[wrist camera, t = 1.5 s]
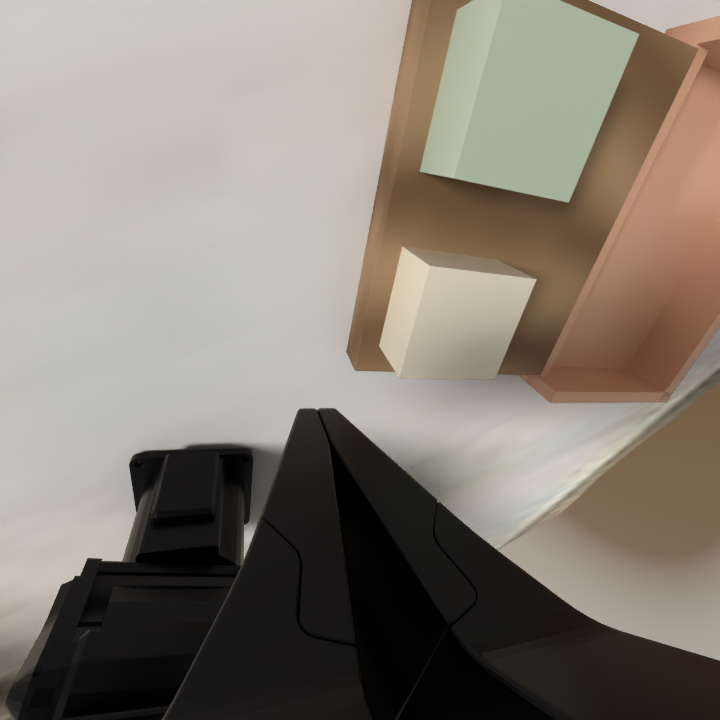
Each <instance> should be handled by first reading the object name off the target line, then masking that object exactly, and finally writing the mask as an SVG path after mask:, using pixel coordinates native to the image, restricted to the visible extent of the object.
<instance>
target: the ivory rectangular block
mask: <svg viewBox="0 0 720 720" xmlns="http://www.w3.org/2000/svg"><path fill="white" fill-rule="evenodd" d="M536 280H537V279H535V278H533V277H531V276H529V275H527V274H525V273H523V272H521V271H519V270H517V269H515V268H513V267H511V266H509V265H507V264H505V263H503V262H501V261H499V260H497V259H489V258H482V257H475V256H468V255H461V254H453V253H446V252H439V251H432V250H425V249H417V248H410V247H403V246H402V250H401V254H400V258H399V262H398V267H397V271H396V275H395V280H394V284H393V288H392V293H391V297H390V301H389V306H388V310H387V314H386V318H385V323H384V327H383V331H382V336H381V340H380V344H379V347H380V348H381V350H382V351H383V353H384V355H385V356H386V358H387V359H388V361H389V363H390V364H391V366H392V367H393V369H394V371H395V372H396V374H397V375H398V377H399V378H424V379H479V380H495V378H496V375H497V373H498V371H499V368H500V366H501V363H502V361H503V359H504V356H505V354H506V351H507V349H508V347H509V344H510V342H511V340H512V337H513V335H514V332H515V330H516V328H517V325H518V323H519V320H520V318H521V316H522V313H523V311H524V308H525V306H526V304H527V301H528V299H529V297H530V294H531V292H532V289H533V287H534V285H535V282H536Z"/></svg>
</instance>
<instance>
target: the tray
mask: <svg viewBox="0 0 720 720" xmlns="http://www.w3.org/2000/svg"><path fill="white" fill-rule="evenodd" d="M665 34H666V35H668V36H671V37H673V38H675V39H678V40H680V41H682V42H684V43H687V44H689V45H691V46H694V47H696V48H698V51H697V53H696V55H695V58H694V60H693V62H692V64H691V66H690V68H689V70H688V72H687V74H686V76H685V78H684V80H683V82H682V84H681V86H680V88H679V91H678V93H677V95H676V97H675V99H674V101H673V103H672V105H671V107H670V109H669V111H668V113H667V115H666V117H665V119H664V121H663V124H662V126H661V128H660V130H659V132H658V134H657V136H656V138H655V140H654V142H653V144H652V146H651V148H650V150H649V152H648V154H647V157H646V159H645V161H644V163H643V165H642V167H641V169H640V171H639V173H638V175H637V177H636V179H635V181H634V183H633V185H632V188H631V190H630V192H629V194H628V196H627V198H626V200H625V202H624V204H623V206H622V208H621V210H620V212H619V214H618V216H617V218H616V221H615V223H614V225H613V227H612V229H611V231H610V233H609V235H608V237H607V239H606V241H605V243H604V245H603V247H602V249H601V251H600V254H599V256H598V258H597V260H596V262H595V264H594V266H593V268H592V270H591V272H590V274H589V276H588V278H587V280H586V282H585V284H584V287H583V289H582V291H581V293H580V295H579V297H578V299H577V301H576V303H575V305H574V307H573V309H572V311H571V313H570V315H569V317H568V320H567V322H566V324H565V326H564V328H563V330H562V332H561V334H560V336H559V338H558V340H557V342H556V344H555V346H554V348H553V350H552V353H551V355H550V357H549V359H548V361H547V363H546V365H545V367H544V369H543V371H542V373H541V375H519V376H520V377H521V378H522V379H524V380H525V381H526V382H527V383H528V384H529V385H530V386H532V387H533V388H534V389H535V390H536V391H537V392H538V393H540V394H541V395H542V396H543V397H544V398H545V399H546V400H548V401H549V402H550V403H609V402H667V401H668V399H669V398H670V396H671V395H672V394H673V392H674V391H675V389H676V388H677V386H678V385H679V384H680V382H681V381H682V379H683V378H684V376H685V375H686V374H687V372H688V371H689V369H690V368H691V367H692V365H693V364H694V362H695V361H696V359H697V358H698V357H699V355H700V354H701V352H702V351H703V349H704V348H705V347H706V345H707V344H708V342H709V341H710V339H711V338H712V337H713V335H714V334H715V332H716V331H717V330H718V328H719V327H720V16H718V17H714V18H710V19H706V20H702V21H698V22H694V23H690V24H686V25H683V26H679V27H675V28H671V29H667V31H666V33H665Z"/></svg>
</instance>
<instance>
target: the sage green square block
mask: <svg viewBox="0 0 720 720" xmlns="http://www.w3.org/2000/svg"><path fill="white" fill-rule="evenodd" d="M638 36H639V34H638V33H636V32H633V31H631V30H629V29H626V28H624V27H621V26H619V25H617V24H614V23H612V22H610V21H607V20H605V19H603V18H600V17H598V16H596V15H593V14H591V13H589V12H586V11H584V10H582V9H579V8H577V7H574V6H572V5H570V4H567V3H565V2H563V1H560V0H473V1H471V2H469V3H468V4H466V5H464V6H463V7H461V8H459V9H458V10H457V13H456V17H455V21H454V26H453V30H452V34H451V38H450V43H449V47H448V51H447V56H446V60H445V64H444V69H443V73H442V77H441V82H440V86H439V90H438V94H437V99H436V103H435V107H434V112H433V116H432V120H431V125H430V129H429V133H428V138H427V142H426V146H425V150H424V155H423V159H422V163H421V168H420V172H424V173H428V174H433V175H438V176H443V177H447V178H452V179H457V180H462V181H466V182H471V183H476V184H481V185H485V186H490V187H495V188H500V189H504V190H509V191H514V192H519V193H524V194H529V195H533V196H538V197H543V198H548V199H553V200H558V201H563V202H568V203H569V201H570V199H571V196H572V194H573V191H574V189H575V187H576V184H577V182H578V180H579V177H580V175H581V172H582V170H583V168H584V165H585V163H586V160H587V158H588V156H589V153H590V151H591V148H592V146H593V144H594V141H595V139H596V137H597V134H598V132H599V129H600V127H601V125H602V122H603V120H604V117H605V115H606V113H607V110H608V108H609V105H610V103H611V101H612V98H613V96H614V94H615V91H616V89H617V86H618V84H619V82H620V79H621V77H622V74H623V72H624V70H625V67H626V65H627V63H628V60H629V58H630V55H631V53H632V51H633V48H634V46H635V43H636V41H637V39H638Z"/></svg>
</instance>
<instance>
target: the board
mask: <svg viewBox="0 0 720 720" xmlns="http://www.w3.org/2000/svg"><path fill="white" fill-rule="evenodd" d="M471 1H473V0H412V4H411V10H410V15H409V20H408V26H407V31H406V37H405V42H404V47H403V53H402V58H401V63H400V69H399V74H398V79H397V85H396V90H395V95H394V101H393V106H392V111H391V117H390V122H389V127H388V133H387V138H386V144H385V149H384V154H383V160H382V165H381V170H380V176H379V181H378V186H377V192H376V197H375V202H374V208H373V213H372V218H371V224H370V229H369V234H368V240H367V245H366V251H365V256H364V261H363V267H362V272H361V277H360V283H359V288H358V293H357V299H356V304H355V309H354V315H353V320H352V325H351V331H350V336H349V341H348V347H347V354H348V356H349V359H350V361H351V363H352V365H353V367H354V370H355V371H385V372H395V371H394V369H393V367H392V366H391V364H390V363H389V361H388V359H387V358H386V356H385V355H384V353H383V351H382V350H381V348H380V347H379V344H380V340H381V336H382V331H383V327H384V323H385V318H386V314H387V310H388V306H389V301H390V297H391V293H392V288H393V284H394V280H395V275H396V271H397V267H398V262H399V258H400V254H401V250H402V246H403V247H410V248H417V249H425V250H432V251H439V252H446V253H453V254H461V255H468V256H475V257H482V258H489V259H497V260H499V261H501V262H503V263H505V264H507V265H509V266H511V267H513V268H515V269H517V270H519V271H521V272H523V273H525V274H527V275H529V276H531V277H533V278H535V279H537V280H536V282H535V285H534V287H533V289H532V292H531V294H530V297H529V299H528V301H527V304H526V306H525V308H524V311H523V313H522V316H521V318H520V320H519V323H518V325H517V328H516V330H515V332H514V335H513V337H512V340H511V342H510V344H509V347H508V349H507V351H506V354H505V356H504V359H503V361H502V363H501V366H500V368H499V371H498V373H497V374H511V375H541V373H542V371H543V369H544V367H545V365H546V363H547V361H548V359H549V357H550V355H551V353H552V350H553V348H554V346H555V344H556V342H557V340H558V338H559V336H560V334H561V332H562V330H563V328H564V326H565V324H566V322H567V320H568V317H569V315H570V313H571V311H572V309H573V307H574V305H575V303H576V301H577V299H578V297H579V295H580V293H581V291H582V289H583V287H584V284H585V282H586V280H587V278H588V276H589V274H590V272H591V270H592V268H593V266H594V264H595V262H596V260H597V258H598V256H599V254H600V251H601V249H602V247H603V245H604V243H605V241H606V239H607V237H608V235H609V233H610V231H611V229H612V227H613V225H614V223H615V221H616V218H617V216H618V214H619V212H620V210H621V208H622V206H623V204H624V202H625V200H626V198H627V196H628V194H629V192H630V190H631V188H632V185H633V183H634V181H635V179H636V177H637V175H638V173H639V171H640V169H641V167H642V165H643V163H644V161H645V159H646V157H647V154H648V152H649V150H650V148H651V146H652V144H653V142H654V140H655V138H656V136H657V134H658V132H659V130H660V128H661V126H662V124H663V121H664V119H665V117H666V115H667V113H668V111H669V109H670V107H671V105H672V103H673V101H674V99H675V97H676V95H677V93H678V91H679V88H680V86H681V84H682V82H683V80H684V78H685V76H686V74H687V72H688V70H689V68H690V66H691V64H692V62H693V60H694V58H695V55H696V53H697V51H698V48H696V47H694V46H691V45H689V44H687V43H684V42H682V41H680V40H678V39H675V38H673V37H671V36H668V35H666V34H664V33H662V32H659V31H657V30H655V29H653V28H650V27H648V26H646V25H643V24H641V23H639V22H637V21H634V20H632V19H630V18H627V17H625V16H623V15H621V14H618V13H616V12H614V11H611V10H609V9H607V8H605V7H602V6H600V5H598V4H596V3H593V2H591V1H589V0H560V1H563V2H565V3H567V4H570V5H572V6H574V7H577V8H579V9H582V10H584V11H586V12H589V13H591V14H593V15H596V16H598V17H600V18H603V19H605V20H607V21H610V22H612V23H614V24H617V25H619V26H621V27H624V28H626V29H629V30H631V31H633V32H636V33H638V34H639V36H638V39H637V41H636V43H635V46H634V48H633V51H632V53H631V55H630V58H629V60H628V63H627V65H626V67H625V70H624V72H623V74H622V77H621V79H620V82H619V84H618V86H617V89H616V91H615V94H614V96H613V98H612V101H611V103H610V105H609V108H608V110H607V113H606V115H605V117H604V120H603V122H602V125H601V127H600V129H599V132H598V134H597V137H596V139H595V141H594V144H593V146H592V148H591V151H590V153H589V156H588V158H587V160H586V163H585V165H584V168H583V170H582V172H581V175H580V177H579V180H578V182H577V184H576V187H575V189H574V191H573V194H572V196H571V199H570V201H569V203H568V202H563V201H558V200H553V199H548V198H543V197H538V196H533V195H529V194H524V193H519V192H514V191H509V190H504V189H500V188H495V187H490V186H485V185H481V184H476V183H471V182H466V181H462V180H457V179H452V178H447V177H443V176H438V175H433V174H428V173H424V172H420V168H421V163H422V159H423V155H424V150H425V146H426V142H427V138H428V133H429V129H430V125H431V120H432V116H433V112H434V107H435V103H436V99H437V94H438V90H439V86H440V82H441V77H442V73H443V69H444V64H445V60H446V56H447V51H448V47H449V43H450V38H451V34H452V30H453V26H454V21H455V17H456V13H457V10H458V9H459V8H461V7H463V6H464V5H466V4H468V3H469V2H471Z"/></svg>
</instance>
